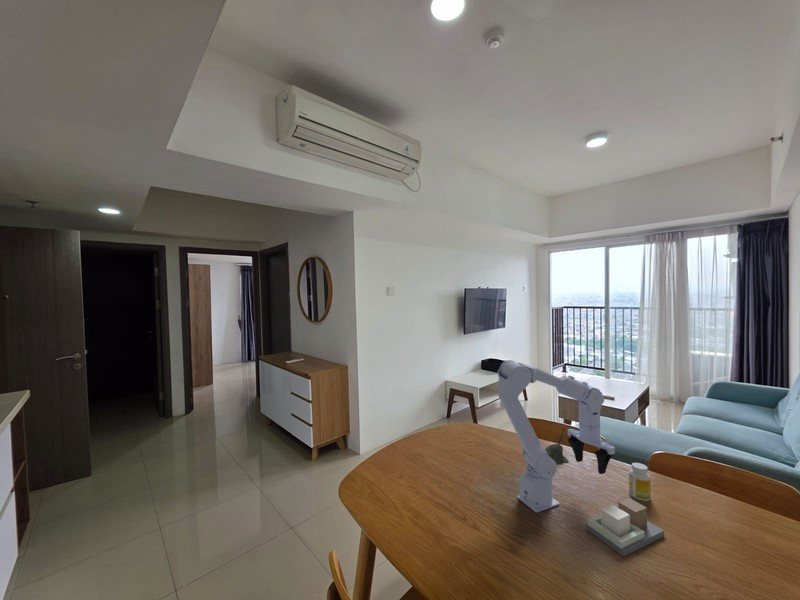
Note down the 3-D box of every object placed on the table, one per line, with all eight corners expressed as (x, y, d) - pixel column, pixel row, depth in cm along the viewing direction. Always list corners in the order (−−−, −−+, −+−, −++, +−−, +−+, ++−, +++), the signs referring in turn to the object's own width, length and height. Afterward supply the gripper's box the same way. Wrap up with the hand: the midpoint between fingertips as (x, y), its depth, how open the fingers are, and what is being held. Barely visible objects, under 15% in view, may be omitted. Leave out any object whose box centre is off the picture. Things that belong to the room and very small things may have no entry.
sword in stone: (542, 462, 121) (541, 430, 121) (538, 453, 128) (537, 423, 129) (571, 465, 118) (570, 432, 119) (565, 455, 126) (564, 425, 126)
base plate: (623, 556, 77) (623, 529, 77) (585, 528, 86) (585, 505, 86) (664, 536, 83) (663, 511, 83) (624, 512, 92) (624, 490, 92)
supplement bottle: (625, 493, 101) (624, 463, 101) (636, 489, 103) (636, 459, 103) (643, 503, 96) (642, 471, 96) (655, 499, 98) (654, 468, 98)
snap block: (618, 539, 80) (618, 519, 80) (601, 527, 84) (600, 509, 84) (630, 534, 82) (629, 514, 82) (612, 522, 86) (612, 504, 86)
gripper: (621, 430, 94) (622, 475, 94) (577, 414, 108) (578, 453, 108) (605, 434, 91) (606, 481, 92) (562, 417, 105) (563, 458, 105)
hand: (590, 466), depth 99 cm, fingers open, 7 cm apart
